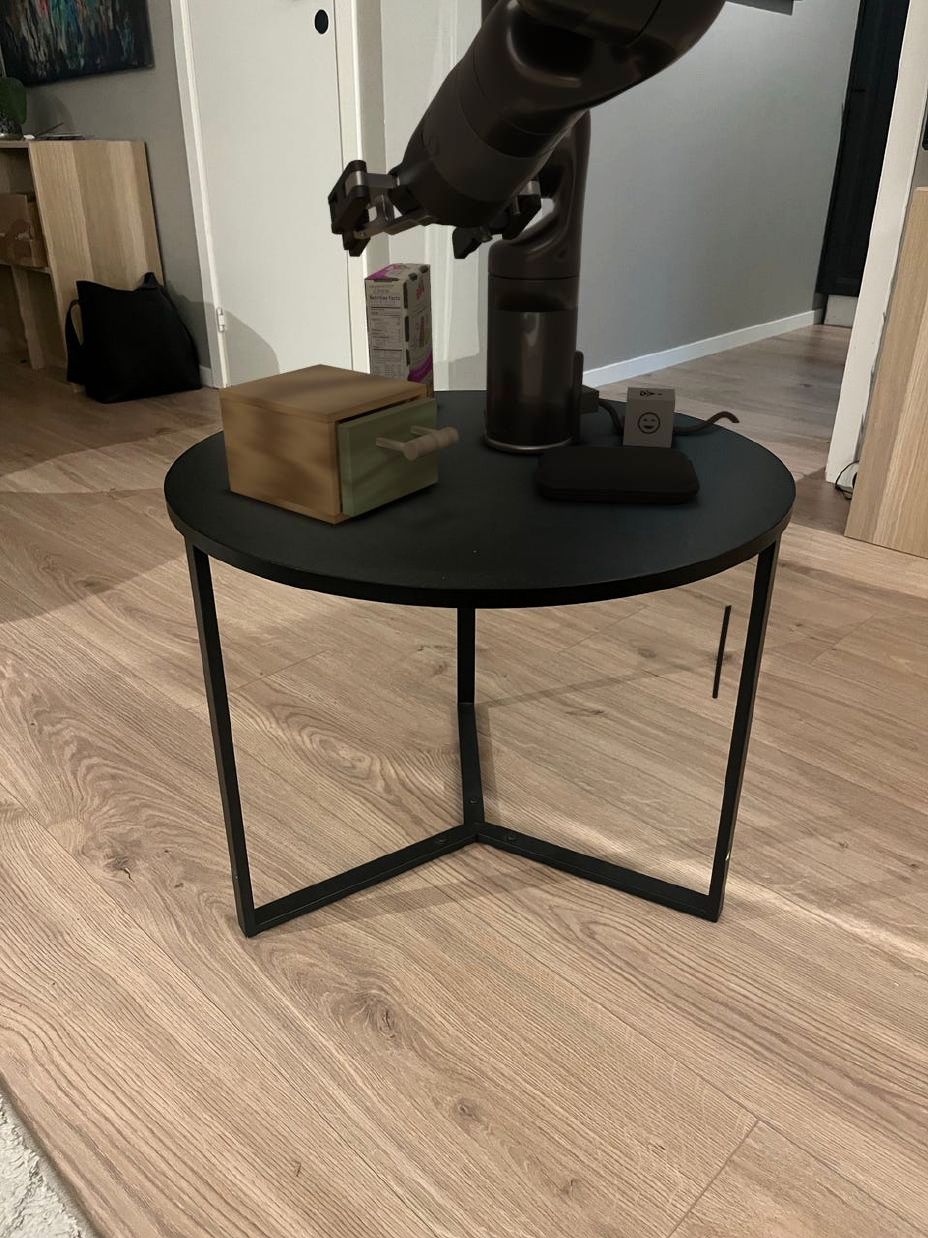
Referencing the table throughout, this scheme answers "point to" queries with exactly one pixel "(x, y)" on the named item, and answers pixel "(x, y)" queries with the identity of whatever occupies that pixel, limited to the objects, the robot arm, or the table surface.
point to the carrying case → (617, 474)
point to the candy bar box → (401, 323)
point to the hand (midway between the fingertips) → (405, 245)
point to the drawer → (388, 453)
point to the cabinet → (299, 433)
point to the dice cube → (649, 417)
